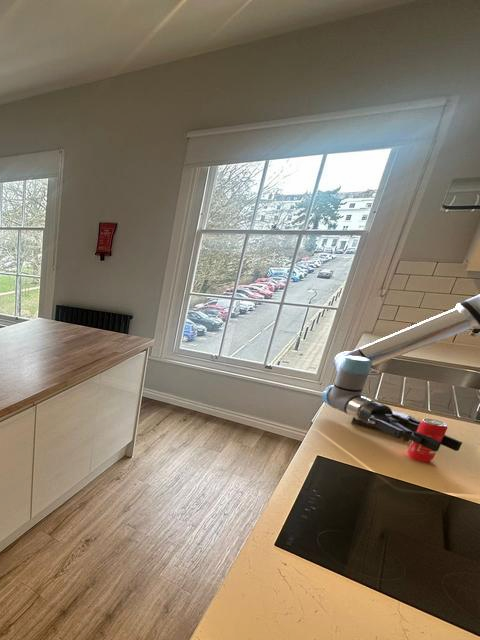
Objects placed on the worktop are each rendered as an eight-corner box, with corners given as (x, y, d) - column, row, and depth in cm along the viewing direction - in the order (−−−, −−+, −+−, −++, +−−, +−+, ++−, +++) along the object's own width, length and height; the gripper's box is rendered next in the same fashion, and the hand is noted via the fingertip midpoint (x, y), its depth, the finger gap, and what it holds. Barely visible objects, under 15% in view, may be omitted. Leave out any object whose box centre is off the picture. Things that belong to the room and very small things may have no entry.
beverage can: (415, 462, 117) (432, 425, 112) (401, 453, 121) (416, 417, 117) (436, 463, 116) (454, 427, 111) (421, 454, 120) (437, 418, 116)
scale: (411, 425, 137) (415, 415, 136) (403, 436, 130) (407, 426, 129) (361, 412, 147) (365, 403, 146) (351, 422, 140) (354, 413, 139)
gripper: (392, 420, 134) (475, 457, 112) (338, 422, 134) (411, 459, 112) (400, 400, 131) (487, 434, 110) (346, 401, 131) (421, 435, 110)
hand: (448, 446), depth 111 cm, fingers closed on beverage can, 5 cm apart
